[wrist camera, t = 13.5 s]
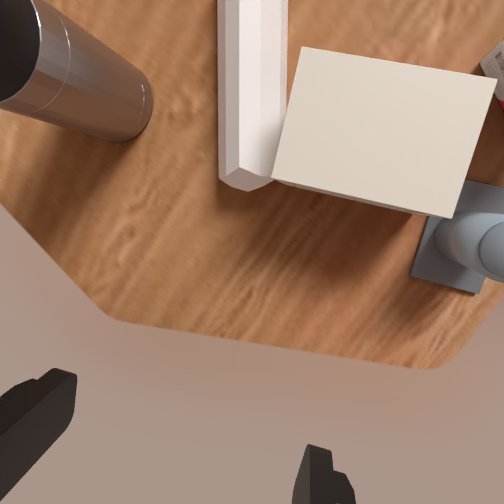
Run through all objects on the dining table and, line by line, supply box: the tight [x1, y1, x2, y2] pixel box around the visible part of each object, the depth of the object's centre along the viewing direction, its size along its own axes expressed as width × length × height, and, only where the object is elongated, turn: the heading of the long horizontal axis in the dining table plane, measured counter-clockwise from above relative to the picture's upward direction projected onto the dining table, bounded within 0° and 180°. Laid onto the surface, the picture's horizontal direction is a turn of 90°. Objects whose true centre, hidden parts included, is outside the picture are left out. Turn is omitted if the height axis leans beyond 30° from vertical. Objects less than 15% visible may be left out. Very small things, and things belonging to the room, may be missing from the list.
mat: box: [409, 179, 504, 294], centre depth 37 cm, size 7×11×1 cm, turn 167°
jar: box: [434, 211, 504, 282], centre depth 32 cm, size 5×5×11 cm
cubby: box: [271, 47, 498, 219], centre depth 33 cm, size 14×10×12 cm
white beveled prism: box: [217, 0, 288, 192], centre depth 38 cm, size 7×7×24 cm
